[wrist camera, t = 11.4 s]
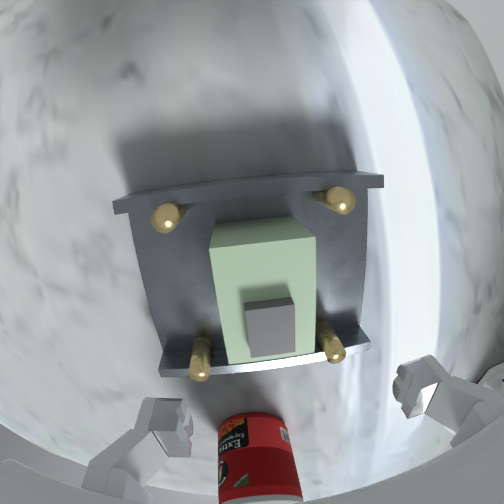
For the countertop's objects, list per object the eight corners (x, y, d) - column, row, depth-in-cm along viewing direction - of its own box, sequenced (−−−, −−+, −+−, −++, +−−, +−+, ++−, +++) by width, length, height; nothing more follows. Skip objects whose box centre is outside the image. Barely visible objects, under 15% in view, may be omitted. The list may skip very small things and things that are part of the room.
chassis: (357, 171, 18) (394, 176, 14) (352, 324, 23) (375, 359, 18) (133, 193, 18) (103, 204, 13) (168, 347, 22) (158, 388, 17)
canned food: (231, 404, 25) (237, 498, 14) (299, 416, 26) (321, 498, 16) (208, 438, 27) (208, 517, 16) (268, 448, 28) (280, 519, 18)
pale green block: (292, 215, 18) (320, 241, 12) (296, 310, 20) (317, 361, 14) (214, 224, 17) (207, 254, 12) (228, 318, 20) (229, 373, 14)
